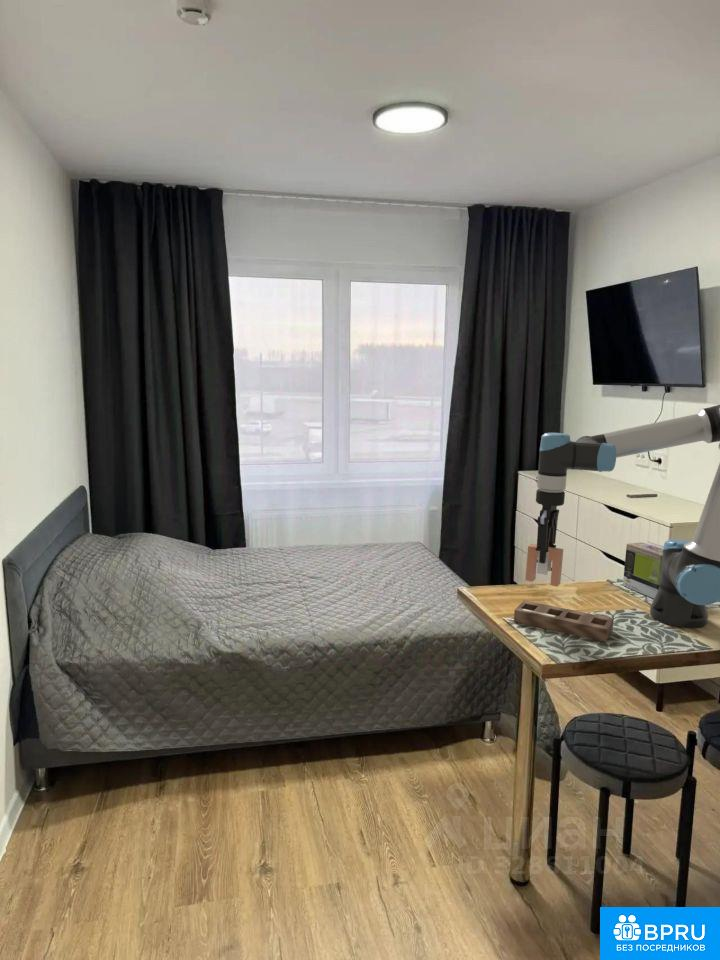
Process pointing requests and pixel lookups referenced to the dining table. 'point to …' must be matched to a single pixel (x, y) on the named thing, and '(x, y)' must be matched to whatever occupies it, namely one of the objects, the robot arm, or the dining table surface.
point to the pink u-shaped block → (554, 556)
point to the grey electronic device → (643, 567)
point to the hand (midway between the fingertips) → (543, 571)
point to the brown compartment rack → (564, 620)
